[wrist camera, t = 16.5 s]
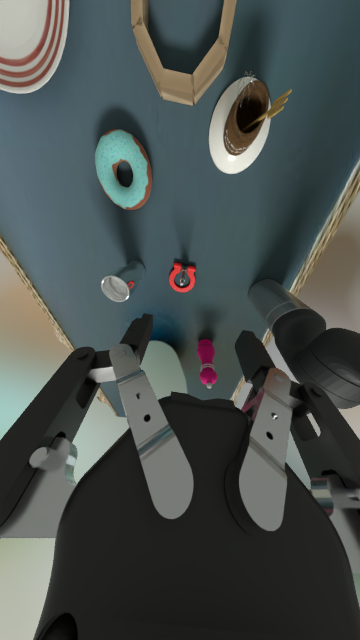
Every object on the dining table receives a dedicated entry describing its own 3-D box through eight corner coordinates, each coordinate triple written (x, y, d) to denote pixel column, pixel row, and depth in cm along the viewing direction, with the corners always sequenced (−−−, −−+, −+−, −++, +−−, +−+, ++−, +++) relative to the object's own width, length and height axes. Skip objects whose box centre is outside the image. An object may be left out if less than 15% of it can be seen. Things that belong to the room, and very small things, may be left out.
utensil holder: (233, 98, 24) (260, 18, 14) (263, 117, 25) (309, 53, 15) (216, 148, 27) (229, 111, 18) (244, 163, 28) (270, 135, 19)
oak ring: (252, -92, 16) (262, -145, 14) (216, 110, 25) (218, 99, 23) (135, -123, 16) (125, -183, 14) (139, 94, 24) (133, 80, 22)
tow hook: (191, 293, 48) (198, 266, 42) (190, 315, 38) (199, 284, 32) (168, 288, 47) (172, 260, 41) (160, 309, 37) (164, 277, 31)
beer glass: (123, 274, 45) (98, 295, 33) (128, 254, 41) (102, 269, 29) (143, 284, 46) (126, 307, 34) (150, 265, 42) (133, 284, 30)
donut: (129, 115, 26) (121, 101, 23) (164, 189, 32) (161, 186, 29) (90, 163, 30) (78, 157, 27) (127, 221, 36) (121, 221, 33)
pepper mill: (194, 346, 63) (195, 389, 47) (201, 336, 59) (204, 380, 43) (208, 350, 64) (213, 394, 48) (216, 341, 60) (224, 385, 44)
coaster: (282, 87, 23) (284, 84, 23) (252, 178, 30) (253, 178, 29) (219, 73, 23) (219, 70, 22) (202, 168, 29) (202, 167, 29)
